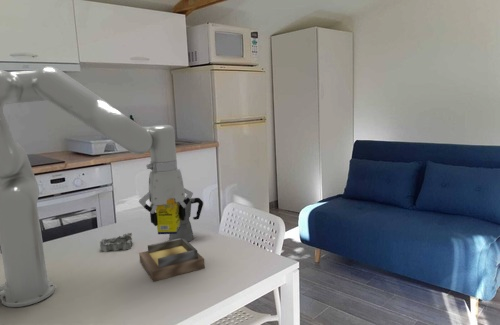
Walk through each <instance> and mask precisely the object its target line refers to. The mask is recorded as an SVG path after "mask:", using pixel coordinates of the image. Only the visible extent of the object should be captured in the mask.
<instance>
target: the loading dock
mask: <svg viewBox="0 0 500 325" xmlns="http://www.w3.org/2000/svg"><path fill="white" fill-rule="evenodd" d="M138 257H139V263H140V264H141V266H142V267H143V268H144V270H145V271H146V273H147V275H148V276H149V278H150V279H151V281H152V282H157V281H161V280H165V279H169V278H173V277H176V276H179V275H184V274H187V273H191V272H194V271H198V270H202V269H205V267H206V266H205V264H206V263H205V258H204V257H203V256H202V255H201V254H200V253H199V252H198V250H197V249H196V248H195V247H194V246H193V245H192V244H191V243H190V241H189V242H188V241H186V240H185V239H184V238H179V239H174V240H167V241H166V240H165V241H162V242H157V243H156V242H155V243H152V244H147V250H146V251H141V252H139V256H138Z"/></svg>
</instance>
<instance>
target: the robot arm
mask: <svg viewBox="0 0 500 325" xmlns="http://www.w3.org/2000/svg"><path fill="white" fill-rule="evenodd" d="M44 101H48V103H51V104H52V105H54V106H55V107H57V108H59V109H60V110H62V111H63V112H64V113H66V114H68V115H70V116H71V117H73V119H75V120H77V121H79V122H81V123H82V124H83V125H85V126H87V127H88V128H90V129H93V130H94V131H97V132H98V133H99V134H101V135H103V136H105V137H106V138H107V139H110V140H111V141H112V142H114V143H115V144H118V146H120V147H122V148H123V149H125V150H127V151H128V152H129V153H131V154H133V155H144V154H146V153H147V152H150V162H149V164H146V170H151V171H150V172H149V174H148V176H149V178H148V192H147V193H146V194H144V196H143V197H141V198H140V199H139V201H138V203H139V204H140V205H141V206H142V207H143V208H144V209H145V210H146V211H148V212H149V215H150V223H151V224H152V225H154V227H157V225H158V223H157V213H156V209H157V206H161V205H165V204H167V200H168V199H175V200H176V203H178V202H179V204H180V205H179V216H180V219H181V220H184V217H185V216H186V215H185V207H186V205H187V204H188V202H189V201H190V199H191V198H193V197H192V196H194V192H193V191H190V190H189V189H187V188H185V186H184V181H183V175H182V171H181V169H180V168H178V161H177V148H176V147H177V146H176V136H175V134H176V133H175V128H174V127H173V125H170V124H160V125H159V124H157V125H152V126H142V125H140V124H138V123H137V122H135V121H134V120H133V119H131V118H130V117H129V116H127V115H125V114H124V113H122V111H119V110H118V109H117V108H115V107H114V106H112V105H111V104H110V103H109V102H107V101H106V100H105V99H103V98H102V97H101V96H99V95H98V94H96V93H95V92H93V91H92V90H90V89H89V88H88V87H86V86H85V85H83V84H81V83H80V82H79V81H78V80H76V79H74V78H73V77H71V76H70V75H68V74H67V73H66V72H64V71H63V70H61V69H59V68H57V67H55V66H50V65H46V66H42V67H40V68H38V69H35V70H23V71H22V70H20V71H19V70H18V71H7V70H4V69H0V251H1V257H2V259H1V260H2V264H3V270H4V277H5V283H3V284H1V285H0V297H1V303H2V305H3V306H6V307H8V308H19V307H21V308H22V307H27V306H29V305H33V304H36V303H38V302H39V303H40V302H42V301H43V300H45V299H47V298H49V297H50V296H51V295H52V294H54V292H55V291H56V285H55V283H54V282H53V281H51V280H49V279H48V272H47V264H46V257H45V250H44V242H43V237H42V236H43V235H42V229H41V223H40V217H39V212H38V199H39V196H40V188H39V184H38V181H37V179H36V175H35V173H34V171H33V167H32V165H31V161H30V159H29V156H28V154H27V152H26V149H25V148H24V147H23V146H22V145H21V144H20V143H19V142H17V141H16V140H14V137H13V135H12V133H11V130H10V126H9V123H8V121H7V118H6V116H5V113H4V105H12V104H13V105H14V104H21V103H22V104H23V103H34V102H44ZM148 200H149V202H150V203H151V204H150V205H149V204H147V203H146V202H147V201H148Z"/></svg>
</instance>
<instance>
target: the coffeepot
mask: <svg viewBox="0 0 500 325" xmlns="http://www.w3.org/2000/svg"><path fill="white" fill-rule="evenodd" d="M197 203H198V205H197V210H196V216H193V217H192V219H193V220H199V219H200V216H201V213H202V209H203V206H204V201H203V200H202V199H201V198H200V197H191V199H190V201H189V202H188V204H187V205H186V207H185V215H186V216H185V217H184V220H181V219H180V229H179V230H178V232H177V234H168V235H169V236H168V241H170V240H174V239H179V238H184V239H185V240H186V241H188V242H189V243H190V242H191V241H192V240H193V239H194V238H195V236H194V231H193V226H192V223H191V221H190V218H191V212H192V204H197ZM179 205H180V204H179Z"/></svg>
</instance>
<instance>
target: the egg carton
mask: <svg viewBox="0 0 500 325" xmlns="http://www.w3.org/2000/svg"><path fill="white" fill-rule="evenodd" d="M132 236H133V234H132V232H128V233H125V234H124V233H123V235H119V236H117V237H116V236H115V237H111V238H101V240H100V241H99V244H100V245H99V247H100V251H101V252H104V253H106V252H108V251H113V252H116V251H118V250H123V251H126V250H129V249H131V247H132V245H133V238H132Z"/></svg>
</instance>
